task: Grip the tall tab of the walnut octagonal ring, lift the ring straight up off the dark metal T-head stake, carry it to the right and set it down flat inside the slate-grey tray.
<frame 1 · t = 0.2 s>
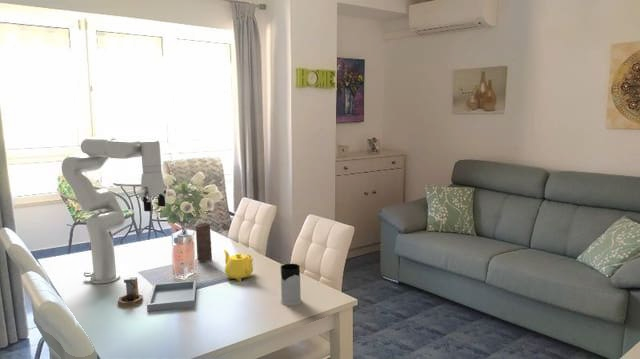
hand: (155, 208, 205), 36 cm above the table, tool pointing down, fingers open, 9 cm apart
tray: (173, 298, 201), on the table
teapot: (240, 277, 225), on the table
ring: (130, 302, 197), on the table
candle: (204, 261, 248), on the table
stake: (130, 302, 197), on the table
glass holder: (288, 299, 199), on the table
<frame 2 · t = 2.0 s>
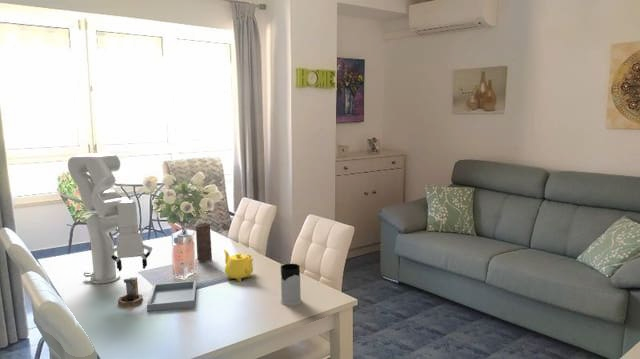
hand: (132, 268, 203), 12 cm above the table, tool pointing down, fingers open, 9 cm apart
nothing on the table moved.
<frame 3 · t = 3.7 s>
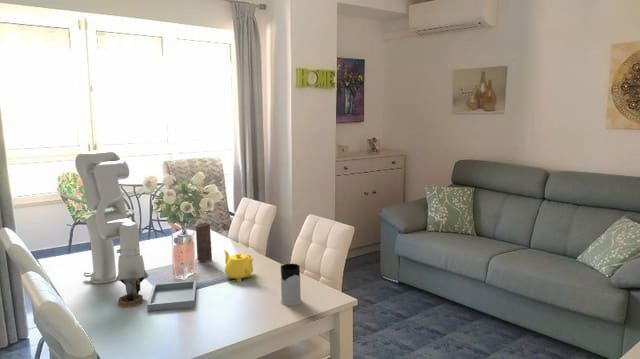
hand: (133, 292, 205), 1 cm above the table, tool pointing down, fingers closed on ring, 2 cm apart
ring: (130, 302, 197), on the table, touching gripper
everything else where it was.
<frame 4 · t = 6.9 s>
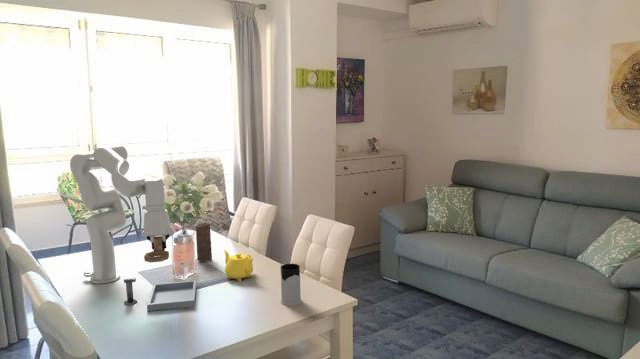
hand: (159, 250, 202), 20 cm above the table, tool pointing down, fingers closed on ring, 2 cm apart
ring: (157, 258, 194), point 19 cm above the table, touching gripper
everything else where it was.
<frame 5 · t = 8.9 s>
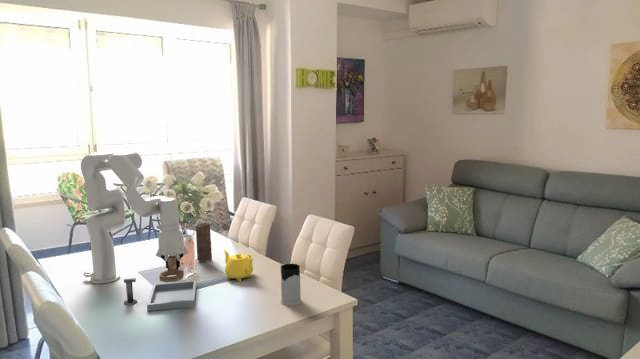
hand: (173, 268, 204), 11 cm above the table, tool pointing down, fingers closed on ring, 2 cm apart
ring: (171, 278, 196), point 10 cm above the table, touching gripper
everything else where it was.
when the fingers open (4 cm above the table, at t = 10.5 s): ring drops 2 cm, resting on tray.
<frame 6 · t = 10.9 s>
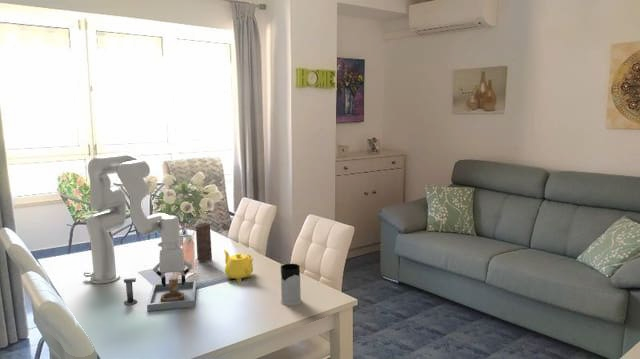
hand: (173, 284, 205), 4 cm above the table, tool pointing down, fingers open, 7 cm apart
ring: (172, 300, 198), resting on tray
everything else where it was.
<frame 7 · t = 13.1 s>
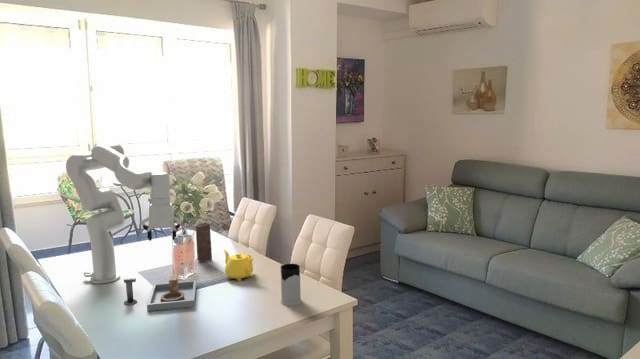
hand: (162, 239, 207), 23 cm above the table, tool pointing down, fingers open, 9 cm apart
nothing on the table moved.
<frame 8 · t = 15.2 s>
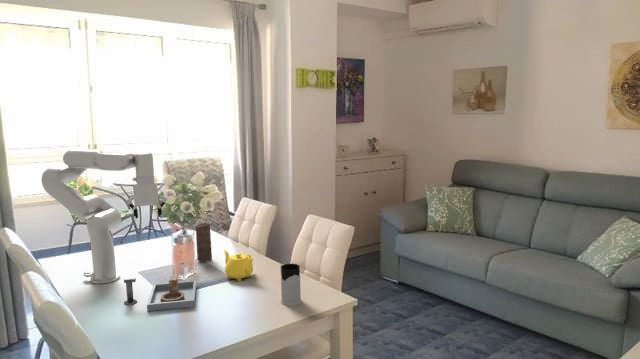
hand: (148, 217, 216), 30 cm above the table, tool pointing down, fingers open, 9 cm apart
nothing on the table moved.
at the end: ring inside the target area on the tray (0.3 cm from its centre), point 0.5 cm above the tray's base; ring tilted 0°; the gripper is holding nothing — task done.
